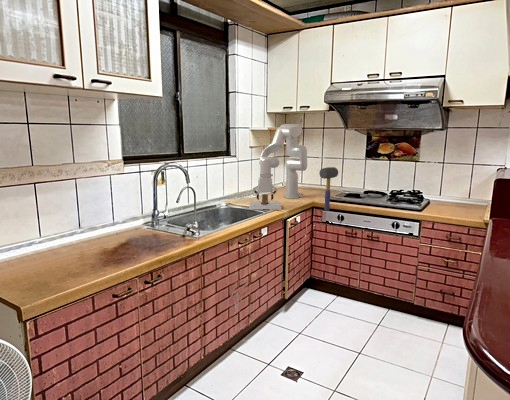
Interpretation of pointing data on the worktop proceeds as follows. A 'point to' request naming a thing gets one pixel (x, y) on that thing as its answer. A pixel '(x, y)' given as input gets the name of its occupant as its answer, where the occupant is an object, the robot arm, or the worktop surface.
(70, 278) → the worktop surface
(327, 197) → the rubber mallet
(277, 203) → the rosette plate
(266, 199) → the walnut wedge
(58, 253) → the worktop surface
